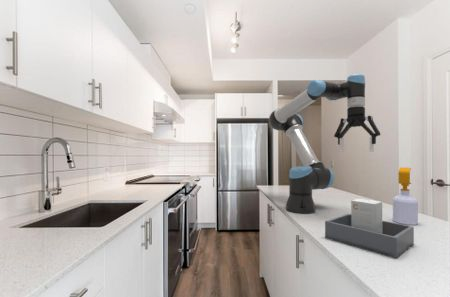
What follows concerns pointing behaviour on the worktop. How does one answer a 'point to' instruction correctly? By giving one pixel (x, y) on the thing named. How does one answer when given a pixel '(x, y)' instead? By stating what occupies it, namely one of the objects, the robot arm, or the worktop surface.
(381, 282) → the worktop surface
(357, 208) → the small box
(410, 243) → the charcoal bin
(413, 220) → the soap bottle
